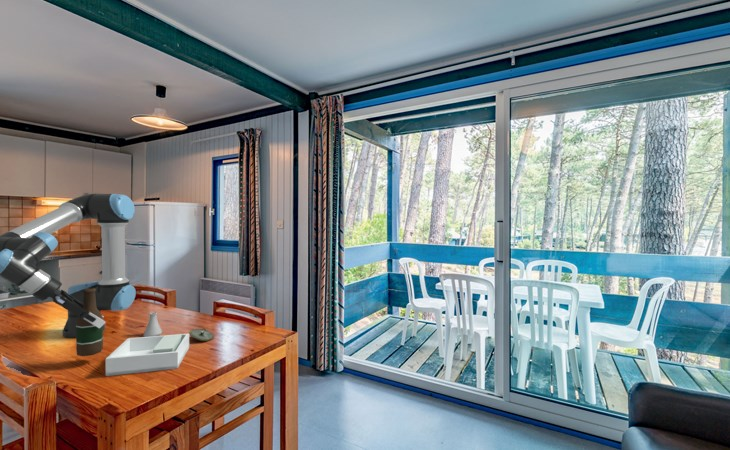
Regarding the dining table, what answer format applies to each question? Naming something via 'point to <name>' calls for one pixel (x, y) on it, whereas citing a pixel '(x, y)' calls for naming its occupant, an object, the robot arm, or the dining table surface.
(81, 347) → the beer bottle
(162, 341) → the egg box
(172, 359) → the tray
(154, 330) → the flask
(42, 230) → the robot arm
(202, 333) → the lid
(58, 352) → the dining table surface
